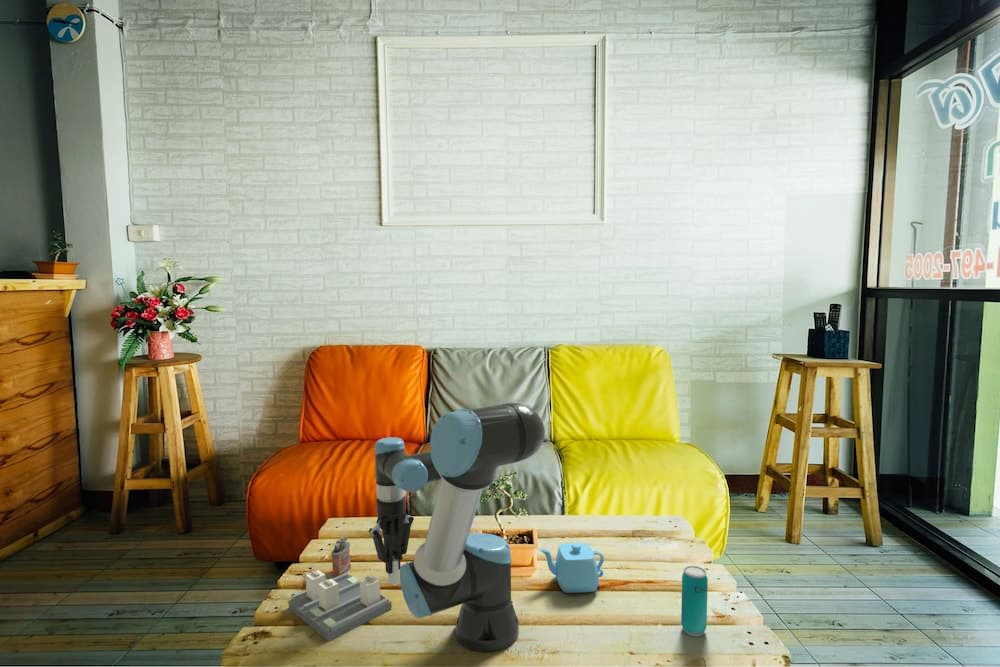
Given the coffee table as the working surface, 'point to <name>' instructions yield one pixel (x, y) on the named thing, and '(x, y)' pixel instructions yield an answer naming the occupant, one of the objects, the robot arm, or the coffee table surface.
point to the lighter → (341, 557)
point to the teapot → (575, 567)
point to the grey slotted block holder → (338, 609)
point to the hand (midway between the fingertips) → (393, 582)
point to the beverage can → (694, 600)
